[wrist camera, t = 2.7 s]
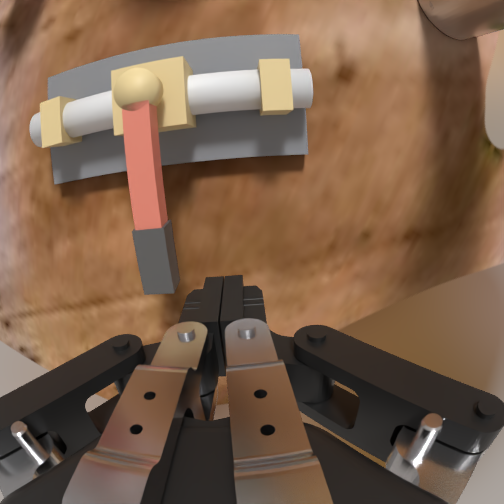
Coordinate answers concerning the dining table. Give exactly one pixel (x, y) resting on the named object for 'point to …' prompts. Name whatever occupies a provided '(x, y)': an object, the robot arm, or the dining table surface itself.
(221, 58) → the valve board
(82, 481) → the robot arm
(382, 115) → the dining table surface
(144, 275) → the valve lever
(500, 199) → the dining table surface
